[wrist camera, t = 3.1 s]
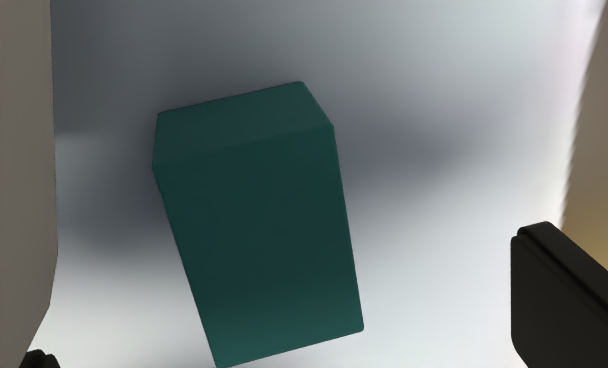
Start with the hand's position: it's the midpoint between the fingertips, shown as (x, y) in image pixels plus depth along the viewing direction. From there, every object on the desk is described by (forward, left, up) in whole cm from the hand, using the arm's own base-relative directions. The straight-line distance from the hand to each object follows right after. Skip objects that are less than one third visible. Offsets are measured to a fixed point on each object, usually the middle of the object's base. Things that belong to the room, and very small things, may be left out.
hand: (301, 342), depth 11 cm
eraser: (0, 0, -6) cm, 6 cm away
